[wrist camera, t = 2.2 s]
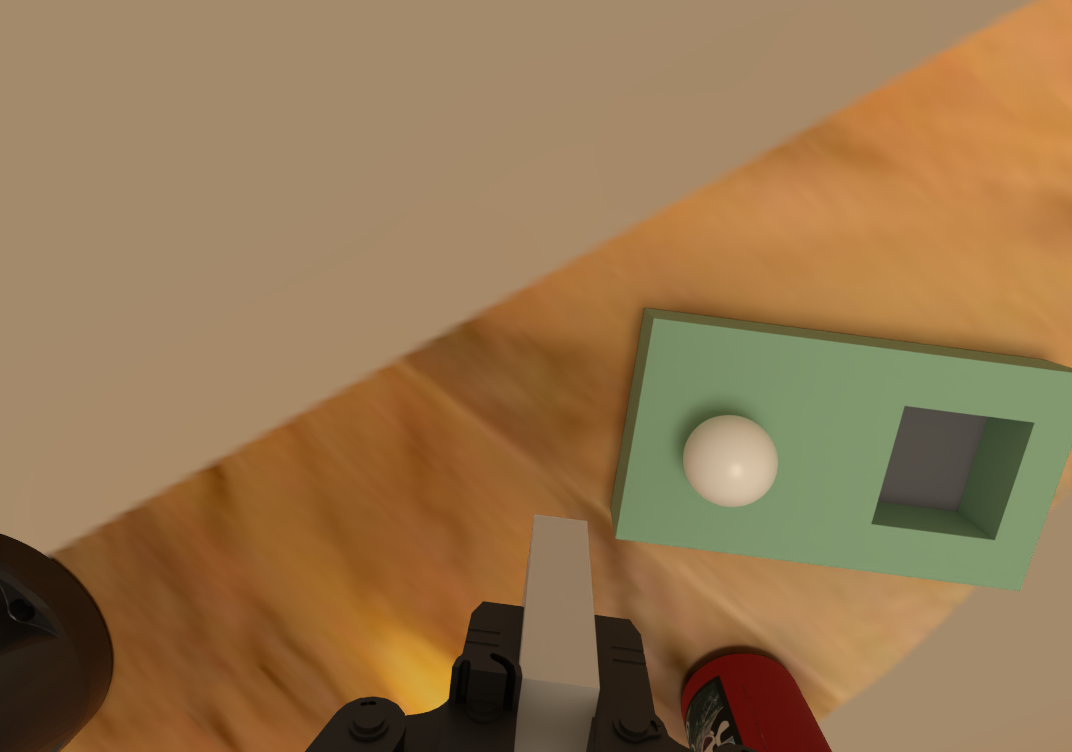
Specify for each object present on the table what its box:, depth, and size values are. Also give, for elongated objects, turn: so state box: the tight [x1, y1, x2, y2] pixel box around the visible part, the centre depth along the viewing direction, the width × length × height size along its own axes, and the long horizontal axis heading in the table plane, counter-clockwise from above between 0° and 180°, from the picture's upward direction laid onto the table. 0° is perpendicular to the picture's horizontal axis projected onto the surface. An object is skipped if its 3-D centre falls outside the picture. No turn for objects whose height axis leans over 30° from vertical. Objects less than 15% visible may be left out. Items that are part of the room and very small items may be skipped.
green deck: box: [610, 308, 1072, 591], centre depth 32 cm, size 20×11×3 cm, turn 83°
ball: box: [683, 415, 778, 507], centre depth 28 cm, size 4×4×4 cm
